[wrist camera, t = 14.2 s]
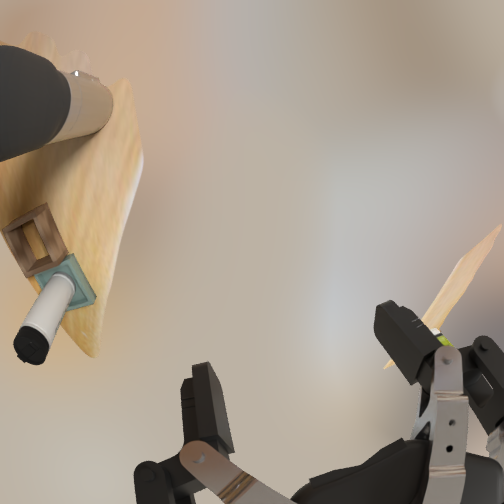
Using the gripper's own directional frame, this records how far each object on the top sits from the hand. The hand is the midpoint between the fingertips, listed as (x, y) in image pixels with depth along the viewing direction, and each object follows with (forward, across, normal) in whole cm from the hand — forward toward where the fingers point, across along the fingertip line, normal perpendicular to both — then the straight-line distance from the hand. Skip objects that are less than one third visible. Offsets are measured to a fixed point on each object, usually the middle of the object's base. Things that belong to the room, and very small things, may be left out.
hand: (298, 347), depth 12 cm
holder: (+38, +37, 0) cm, 53 cm away
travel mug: (+38, +37, +11) cm, 54 cm away
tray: (+38, +36, +11) cm, 54 cm away
